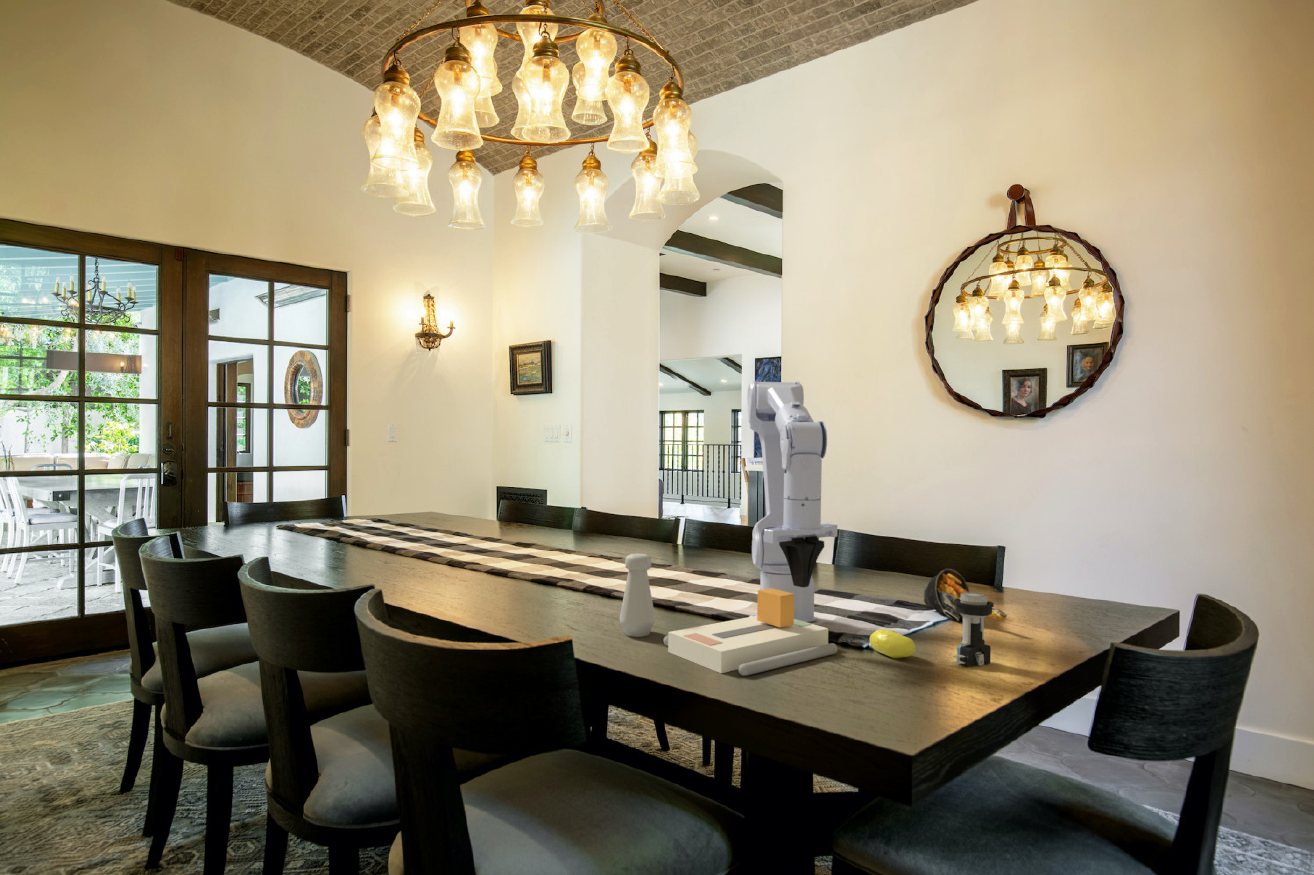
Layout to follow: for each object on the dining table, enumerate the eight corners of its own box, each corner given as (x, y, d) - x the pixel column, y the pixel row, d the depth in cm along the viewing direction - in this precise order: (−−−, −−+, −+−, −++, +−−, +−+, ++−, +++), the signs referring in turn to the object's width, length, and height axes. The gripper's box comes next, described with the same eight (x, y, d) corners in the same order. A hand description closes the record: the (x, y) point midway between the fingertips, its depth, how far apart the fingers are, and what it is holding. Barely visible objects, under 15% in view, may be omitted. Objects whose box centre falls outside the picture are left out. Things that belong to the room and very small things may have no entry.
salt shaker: (650, 639, 118) (651, 558, 118) (615, 637, 119) (616, 556, 119) (657, 630, 124) (659, 552, 124) (624, 627, 125) (625, 550, 125)
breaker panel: (772, 630, 125) (772, 612, 125) (827, 647, 115) (828, 627, 115) (668, 651, 112) (668, 631, 112) (720, 673, 102) (721, 650, 102)
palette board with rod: (753, 627, 127) (753, 617, 127) (839, 654, 112) (839, 643, 112) (661, 645, 115) (661, 635, 115) (743, 678, 100) (743, 666, 100)
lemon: (882, 647, 116) (882, 622, 116) (922, 661, 109) (922, 635, 109) (862, 650, 114) (862, 625, 114) (901, 665, 107) (902, 638, 107)
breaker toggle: (770, 617, 119) (771, 588, 119) (793, 624, 115) (794, 593, 115) (757, 620, 118) (757, 590, 118) (780, 627, 114) (780, 596, 114)
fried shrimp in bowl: (947, 581, 145) (1028, 566, 130) (945, 637, 140) (1028, 628, 125) (912, 566, 142) (991, 549, 127) (908, 623, 137) (990, 612, 122)
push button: (969, 672, 104) (971, 601, 104) (938, 662, 108) (939, 593, 108) (1000, 666, 107) (1001, 596, 107) (969, 656, 112) (970, 589, 112)
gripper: (788, 502, 108) (787, 596, 108) (853, 498, 117) (851, 585, 117) (754, 499, 114) (753, 587, 114) (818, 495, 122) (817, 577, 122)
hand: (801, 586), depth 116 cm, fingers closed
